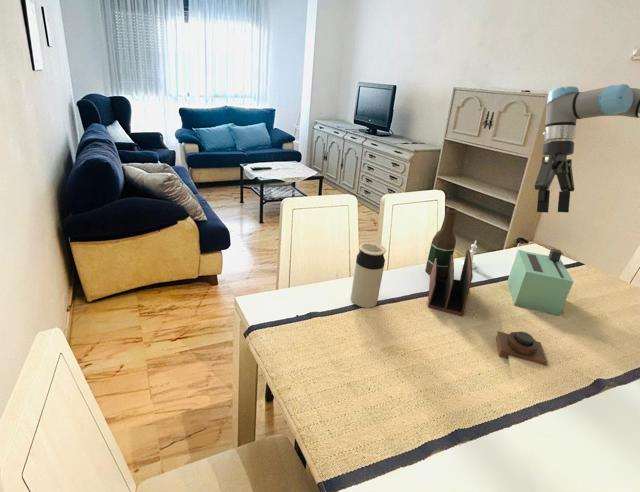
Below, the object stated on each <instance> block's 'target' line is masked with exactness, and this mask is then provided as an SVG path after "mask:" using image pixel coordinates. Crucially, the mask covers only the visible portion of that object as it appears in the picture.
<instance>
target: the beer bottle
mask: <svg viewBox="0 0 640 492" xmlns="http://www.w3.org/2000/svg"><path fill="white" fill-rule="evenodd" d="M444 214H445V215H444V217H443V221H442V224H441V227H440V229H439V230H438V231H437V232H436V233H435V235H434V236H433V237H432V240H431V244H430V247H429V253H428V257H427V260H426V265H425V273H426V274H428V276H430V275H431V271H432V268H433V264H434V261H435V258H437V276H441V277H445V276H446V272H447V268H448V264H449V260H450V256H451V254H452V255H453V256H454V252H455V248H456V244H457V237H456V235H455V232H454V227H455V221H456V216H457V215H458V209H456V208H455V207H446V209H445V213H444Z"/></svg>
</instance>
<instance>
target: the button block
mask: <svg viewBox="0 0 640 492" xmlns="http://www.w3.org/2000/svg"><path fill="white" fill-rule="evenodd" d="M517 332H518V331H511V332H510V333H506V332H503V331H499V330H498V331H497V332H496V335H495V341H496V347H497V354H498V357H499V358H502V359H506V360H509V359H510V358H509V357H513V358H517V359H520V360H524V361H527V362H532V363H535V364H539V365H542V366H547V364H548V360H547V358H546V355H545V352H544V349H543V345H542V343H541V342H540V341H538V340H536V339H535V338H533V341H532V344H531V346H525V345H522V344H520V343H518V342H517V341H516V340H515V337H516V334H517Z"/></svg>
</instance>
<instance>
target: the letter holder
mask: <svg viewBox="0 0 640 492" xmlns="http://www.w3.org/2000/svg"><path fill="white" fill-rule="evenodd" d="M470 254H471V252H470V249H467V250H466V252H465V256H464V260H463V261H464V265H462V270H461V273H460V278H459V279H455V262H454V254H453V255H452V254H451V256H450V260H449V264H448V268H447V272H446V276H445V277H441V276H437V258H435V261H434V264H433V268H432V271H431V275H429V285H428V296H427V307H428V308H430V309H433V310H436V311H441V312H444V313H449V314H452V315H457V316H461V317H464V315H465V311H466V307H467V303H468V300H469V294H470V290H471V286H472V281H473V277H474V276H473V268H472V261H471V255H470Z"/></svg>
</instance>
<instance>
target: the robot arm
mask: <svg viewBox="0 0 640 492" xmlns="http://www.w3.org/2000/svg"><path fill="white" fill-rule="evenodd" d="M545 108H546V109H545V123H544V124H545V125H544V132H543V133H542V135H543V141H544V143H543V145H542V146H543V147H542V155H543V156H542V158H541V163H540V167H539V170H538V174H537V176H536V179H535V183H534V190H536V191H537V192H538V193H537V204H536V205H537V207H536V213H547V214H548V213H549V209H550V194H551V190H550V189H549V188H550V186H551V184H552V182H553V181H554V179H555V176H556V179H557V182H558V185H559V188H560V191H559V192H558V201H557V213H569V212H570V199H571V192H575V182H574V175H573V168H572V167H573V166H572V163H573V160H572V159H571V158H569V159H568V158H567V157H568V156H571V155H573V154H574V153H575V142H574V140H576V132H577V131H576V127H577V120H583V119H589V118H597V117H617V116H618V117H626V118H627V117H628V118H635V119H640V88H635V87H630V86H629V85H628V84H624V83H623V84H615V85H614V84H611V85H608V86H604V87H600V88H599V87H598V88H596V89H590V90H585V91H580V90H579V88H578V87H577V86H560V87H556V88H553V89H551V90H550V91H549V92H548V93H547V100H546V104H545Z"/></svg>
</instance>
